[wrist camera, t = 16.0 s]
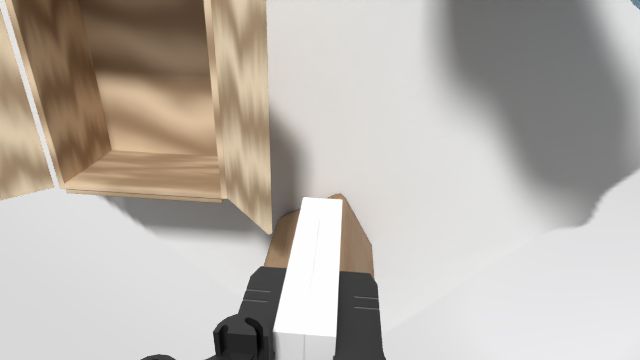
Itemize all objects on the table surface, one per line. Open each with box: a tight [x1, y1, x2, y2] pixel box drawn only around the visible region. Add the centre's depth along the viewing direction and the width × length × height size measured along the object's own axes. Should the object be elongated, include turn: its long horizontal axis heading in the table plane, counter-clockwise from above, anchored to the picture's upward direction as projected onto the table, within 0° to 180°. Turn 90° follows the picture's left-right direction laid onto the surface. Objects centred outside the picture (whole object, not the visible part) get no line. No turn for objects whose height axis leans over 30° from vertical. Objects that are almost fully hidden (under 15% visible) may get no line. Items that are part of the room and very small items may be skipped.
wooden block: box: [263, 194, 374, 279], centre depth 46 cm, size 10×10×20 cm
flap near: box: [211, 0, 272, 235], centre depth 34 cm, size 19×1×8 cm
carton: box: [5, 0, 228, 203], centre depth 42 cm, size 21×18×10 cm
